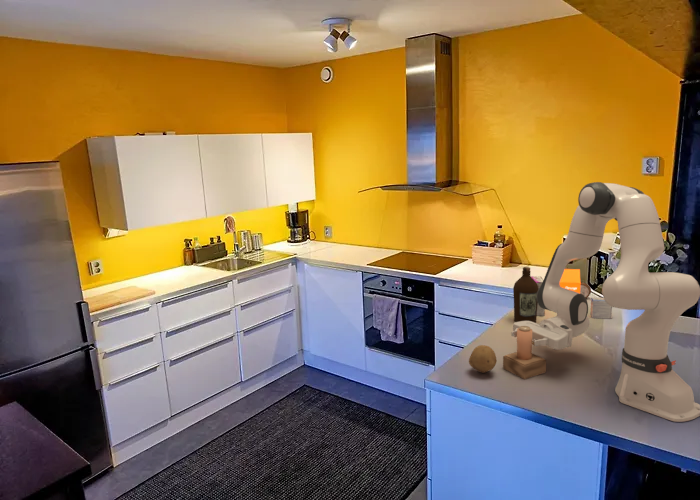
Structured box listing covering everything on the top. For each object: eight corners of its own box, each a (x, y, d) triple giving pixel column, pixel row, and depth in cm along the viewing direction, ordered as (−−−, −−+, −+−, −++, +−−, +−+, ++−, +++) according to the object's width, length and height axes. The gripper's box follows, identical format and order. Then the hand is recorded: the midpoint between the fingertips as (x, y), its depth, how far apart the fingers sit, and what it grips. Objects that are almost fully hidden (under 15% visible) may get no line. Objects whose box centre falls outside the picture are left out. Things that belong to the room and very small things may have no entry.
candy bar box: (529, 308, 230) (530, 276, 227) (540, 308, 229) (541, 276, 226) (533, 316, 219) (534, 282, 216) (544, 316, 218) (546, 282, 215)
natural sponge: (501, 376, 162) (502, 349, 160) (477, 380, 160) (477, 353, 158) (488, 365, 171) (489, 339, 169) (466, 369, 169) (466, 342, 167)
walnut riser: (545, 372, 164) (546, 358, 163) (524, 379, 160) (524, 365, 159) (523, 361, 173) (524, 349, 172) (503, 368, 168) (503, 355, 167)
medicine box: (609, 316, 215) (610, 297, 213) (611, 319, 211) (612, 300, 209) (590, 315, 217) (591, 297, 216) (592, 318, 213) (593, 300, 211)
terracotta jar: (535, 357, 164) (535, 328, 162) (524, 361, 162) (524, 331, 160) (523, 352, 169) (524, 324, 167) (513, 355, 166) (513, 326, 164)
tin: (590, 298, 241) (591, 282, 239) (590, 300, 238) (590, 284, 237) (558, 295, 249) (559, 279, 247) (557, 296, 246) (558, 281, 245)
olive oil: (510, 317, 219) (511, 265, 214) (533, 317, 218) (535, 264, 213) (515, 325, 208) (517, 270, 203) (540, 325, 207) (542, 270, 202)
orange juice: (579, 312, 221) (581, 271, 217) (558, 311, 224) (560, 270, 220) (576, 307, 228) (578, 267, 225) (557, 306, 231) (558, 266, 227)
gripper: (529, 314, 178) (501, 321, 172) (576, 330, 160) (546, 339, 154) (528, 330, 179) (501, 337, 173) (575, 348, 161) (546, 357, 155)
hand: (523, 338), depth 163 cm, fingers open, 8 cm apart
